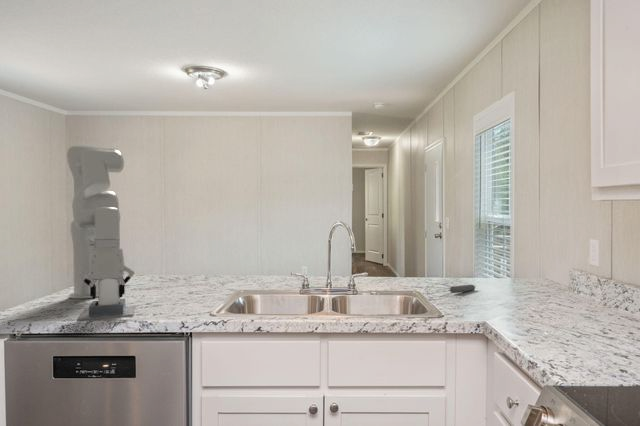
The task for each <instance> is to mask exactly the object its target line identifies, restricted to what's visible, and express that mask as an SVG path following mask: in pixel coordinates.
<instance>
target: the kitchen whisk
mask: <svg viewBox="0 0 640 426" xmlns="http://www.w3.org/2000/svg"><path fill="white" fill-rule="evenodd" d="M432 284H433V285H432ZM429 285H431V288H434V285H435V288H438V289H439V291H442V290H444V288H442V287H440V286H439V287H438V285H439V282H436V283H435V282H433V283H429V284H428V285H427V286H426V290H425V293H426V295H427V296H426V298H427V299H428V300H434V301H435V299H434V298H432V297H431V296H433V297H436V295H434V292H435V291H436V294H437V293H440V292H439V291H437V289H435V290H431V288H430V286H429ZM436 285H437V286H436ZM440 285H442V286H445V287H446V290H448V292H447V293H446V290H444V291H442V293H444V292H445V294H444V295H440V298H442V297H444V296H445V298H447V297H449V296H450V295H452V294H457V293H464V292H473V291H475V289H476V285H475V284H463V285H451V286H450V285H447V284H444V283H443V284H442V283H440ZM432 292H433V293H432ZM430 295H431V296H430ZM428 297H429V298H428Z"/></svg>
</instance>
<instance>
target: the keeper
mask: <svg viewBox="0 0 640 426" xmlns="http://www.w3.org/2000/svg"><path fill="white" fill-rule="evenodd" d="M135 309H136V305H126V298H120V304H113V305H100V306H98V300H93V301H92V302H91V304H90V305H89V306H88V308H84V309H83V310H82V312H81V313H80V314H79V316H78V317H77V318H76V322H78V321H79V322H80V321H91V320H103V319H114V318H124V317H125V318H126V317H134V314H135Z"/></svg>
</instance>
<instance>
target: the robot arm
mask: <svg viewBox="0 0 640 426" xmlns="http://www.w3.org/2000/svg"><path fill="white" fill-rule="evenodd" d="M66 160H67V165H68V167H69V171H70V172H71V175H72V178H73V197H72V198H73V199H72V203H71V208H72V215H73V216H72V218H73V220H72V222H71V223H70V233H71V239H72V251H73V253H72V255H73V292H72V293H69V295H68V296H69V298H71V299H76V300H77V299H80V300H81V299H91V298H92V300H95V299H97V298H98V281H99V280H104V279H118V280H119V282H120V298H123V295H125V293H126V291H125V290H126V287H125V285H126V284H127V283H128V282H129V281H130V279H131V278H132V277H133V276H134V275H135V271H134V270H132V269H131V268H129V267H127V266H126V265H125V258H124V257H125V256H124V251H123V248H122V247H121V241H120V240H121V239H120V238H121V236H120V235H121V231H120V229H121V225H120V223H121V213H120V209H119V208H120V205H119V198H118V195H117V194H116V192H114V191H111V190H108V189H109V188H110V186H111V180H110V174H109V173H115V174H116V173H117V174H118V173H121V172H122V171H123V170H124V167H125V160H124V157H123V154H122V153H121V151H120V150H118V149H115V148H113V147H104V146H92V145H73V146H70V147H69V148H68V149H67V152H66ZM125 272H126V273H128V275H127V276H126V277H124V275H125Z"/></svg>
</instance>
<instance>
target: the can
mask: <svg viewBox="0 0 640 426" xmlns="http://www.w3.org/2000/svg"><path fill="white" fill-rule="evenodd" d="M97 298H98V300H97V301H98V306H100V305H113V304H120V299H121V297H120V282H119V280H118V279H104V280H99V281H98V297H97Z"/></svg>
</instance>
